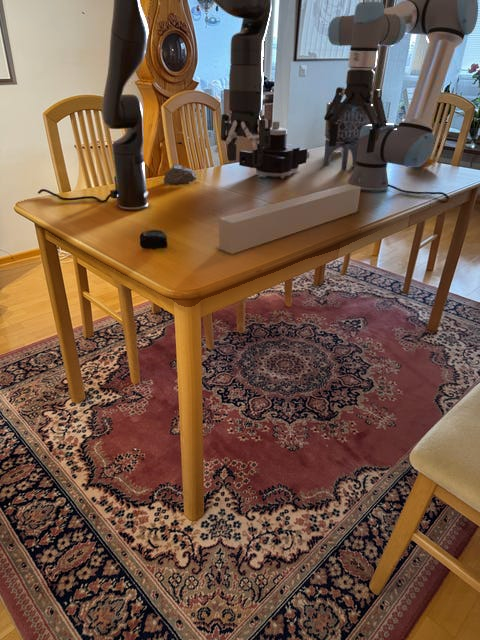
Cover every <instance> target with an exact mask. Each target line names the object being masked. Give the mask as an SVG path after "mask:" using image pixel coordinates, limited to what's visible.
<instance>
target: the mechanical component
mask: <svg viewBox="0 0 480 640" xmlns="http://www.w3.org/2000/svg"><path fill="white" fill-rule="evenodd" d="M287 138H288V129H287V128H286V127H280V121H279V120H272V126H270V147H267V148H264V149H263V152H262V163H261V165H260V166H258V167H254V166H253V165H252V162H253V151H250V150H245V149H241V150H239V153H238V154H239V155H238V157H239V159H238V166H240V167H245V168H250V169H255V173H256V174H257V175H261V177H262V178H267V177H279V178H280V179H285V176H291V175H292V173H298V171H299V167H300V165H303V164H304V165H305V164H307V160H309V158H310V156H311V154H310V152H309V151H308V148H304V147H301V146H299V145H297V144H290V143H287ZM264 142H265V137H264Z"/></svg>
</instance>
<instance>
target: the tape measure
mask: <svg viewBox="0 0 480 640" xmlns="http://www.w3.org/2000/svg"><path fill="white" fill-rule="evenodd" d="M167 236H168V235H167V234H166V232H165V231H164V230H161V229H147V230H144V231H143V232H141V233H140V235H139V240H140V241H139V245H140V246H139V247H141V248H142V249H146V250H157V249H167V248H168V240H167V239H168V237H167Z"/></svg>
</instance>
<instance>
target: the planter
mask: <svg viewBox="0 0 480 640" xmlns="http://www.w3.org/2000/svg"><path fill="white" fill-rule="evenodd" d="M342 102H343V101H341V102H340V104H339V106H338V108H339V107H340V106H341V104H342ZM331 103H332V101H331V102H327V103H326V109H325V114H326V113H327V111H328V109H329V107H330V105H331ZM372 107H373V108H374V105H372ZM338 108H337V109H338ZM336 111H337V110H336ZM336 123H338V132H337V140H336V146H331V147H330V146H329V139H330V134H329V133H328V131H329V122H328V121H327V120H325V124H324V125H325V126H324V139H325V144H324V156H323V157H324V158H323V165H325V166H328V165H330V163H331V158H332V156H333V154H334V153H335V152H336V151H335V150H336V149H338V148H340V147H342V151H341V152H342V153H341V166H340V170H341V172H345V171H347V167H348V166H347V165H348V159H349V152H350V154H351V157H352V158H351V159H352V160H351V161H352V166H353V167H355V165H356V158H357V151H358V143H359V136H360V132H361V128H362V127H363V126H366V125H370V121H369V118H368V116H367V114H366V112H365V110H364V109H363V108H362V106H356V105H354V106H351V105H350V106H349V107H348V108H347V109H346V111H345V112H344V113H343V114H342V115H341V117H340V118H339V119H338V120H337V122H336Z"/></svg>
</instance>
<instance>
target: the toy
mask: <svg viewBox="0 0 480 640" xmlns="http://www.w3.org/2000/svg"><path fill="white" fill-rule="evenodd" d="M434 164H435V160H434V159H433V158H430V157H429V158H428V159H427V161H426V162H425V163H424V164H423V165H421V166H419V167H418V168H421V169H422V168H423V169H424V168H426V167H430V166H433V165H434Z"/></svg>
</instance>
